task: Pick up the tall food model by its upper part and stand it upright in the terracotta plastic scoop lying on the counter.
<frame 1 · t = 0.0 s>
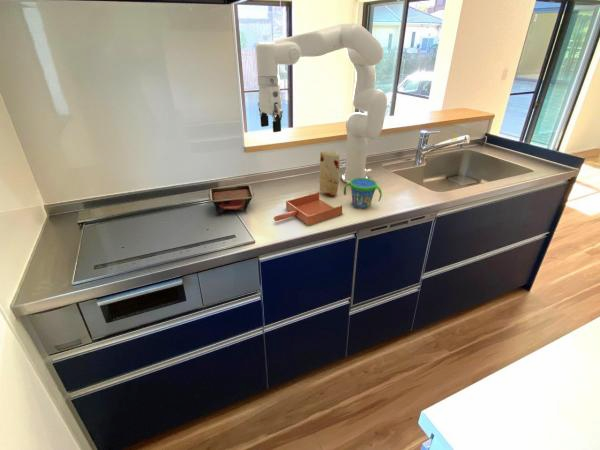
hand: (270, 128, 132), 31 cm above the countertop, tool pointing down, fingers open, 9 cm apart
scoop: (314, 211, 140), on the countertop
baking dish: (233, 207, 144), on the countertop
snack cup: (361, 205, 145), on the countertop
food model: (328, 194, 154), on the countertop
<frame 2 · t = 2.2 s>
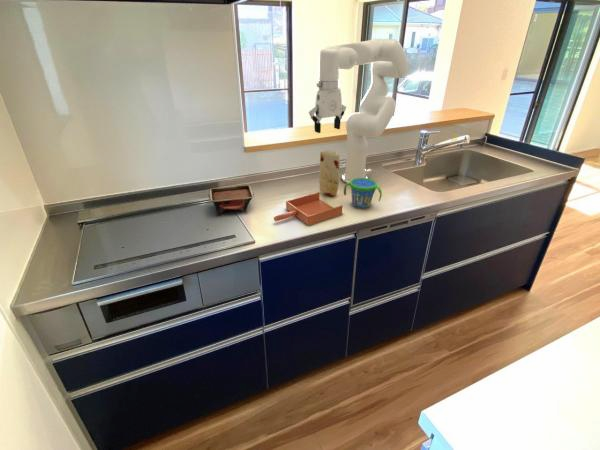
hand: (327, 130, 139), 29 cm above the countertop, tool pointing down, fingers open, 9 cm apart
nothing on the countertop moved.
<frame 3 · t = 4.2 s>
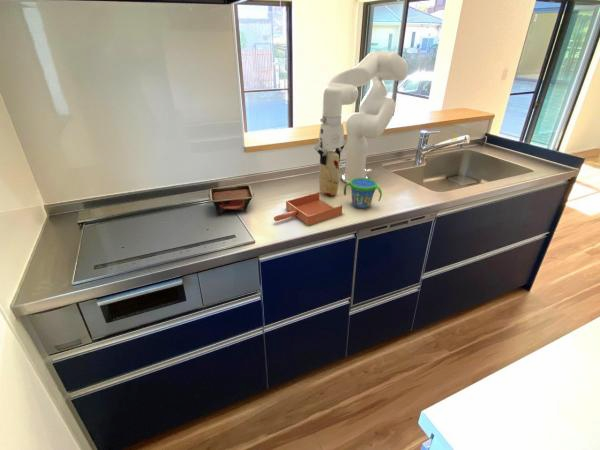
hand: (330, 162, 146), 15 cm above the countertop, tool pointing down, fingers closed on food model, 6 cm apart
food model: (328, 194, 154), on the countertop, touching gripper
everything else where it was.
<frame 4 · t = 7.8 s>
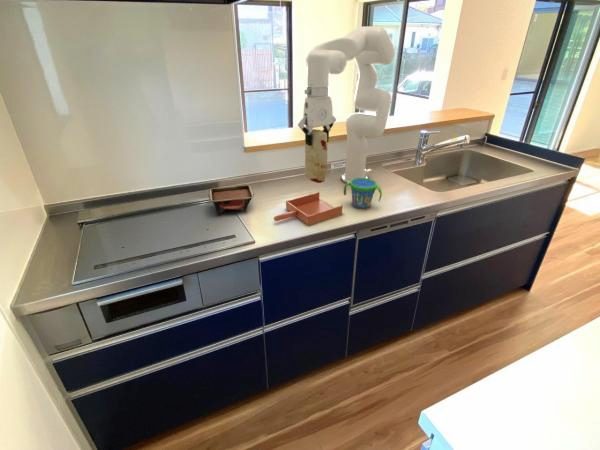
hand: (317, 142, 127), 28 cm above the countertop, tool pointing down, fingers closed on food model, 6 cm apart
food model: (316, 181, 135), point 13 cm above the countertop, touching gripper
everything else where it was.
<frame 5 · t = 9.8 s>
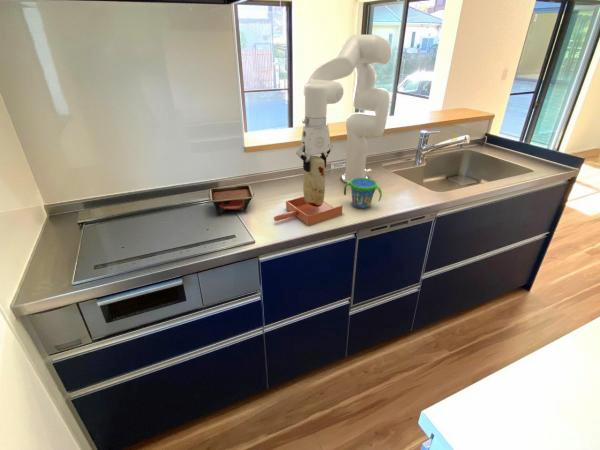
hand: (314, 168, 130), 19 cm above the countertop, tool pointing down, fingers closed on food model, 6 cm apart
food model: (314, 204, 138), point 3 cm above the countertop, touching gripper
everything else where it was.
when the fingers open (16 cm above the countertop, at t = 11.3 s): food model stays where it is, resting on scoop.
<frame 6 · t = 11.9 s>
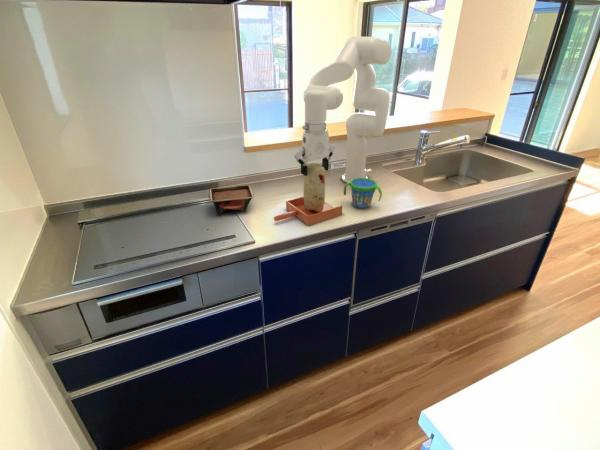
hand: (314, 172, 131), 17 cm above the countertop, tool pointing down, fingers open, 9 cm apart
food model: (314, 211, 140), resting on scoop
everything else where it was.
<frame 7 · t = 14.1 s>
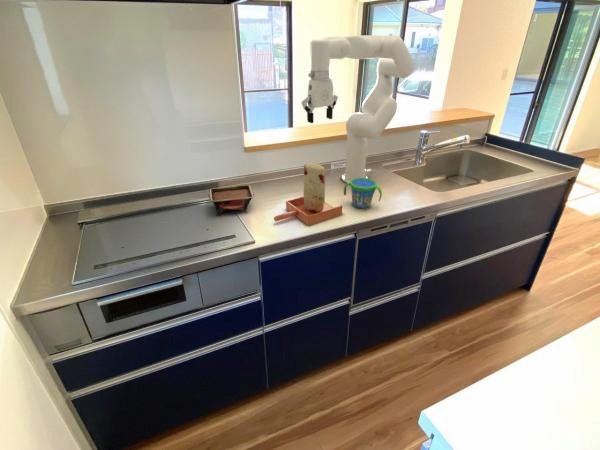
hand: (320, 120, 141), 32 cm above the countertop, tool pointing down, fingers open, 9 cm apart
nothing on the countertop moved.
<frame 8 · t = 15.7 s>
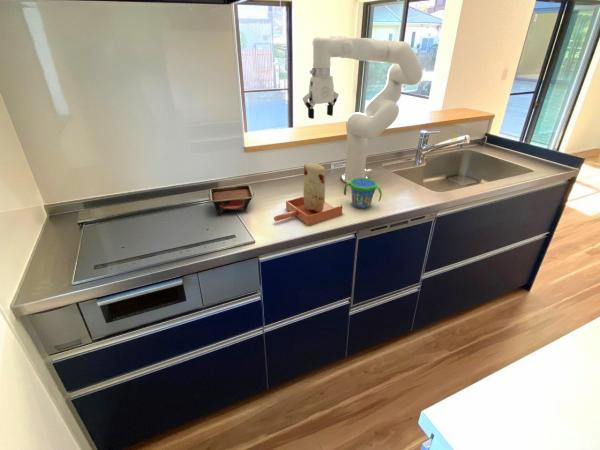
hand: (320, 116, 145), 32 cm above the countertop, tool pointing down, fingers open, 9 cm apart
nothing on the countertop moved.
at the end: food model inside the target area in the scoop (0.1 cm from its centre), point 0.2 cm above the scoop's base; food model tilted 0°; the gripper is holding nothing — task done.
